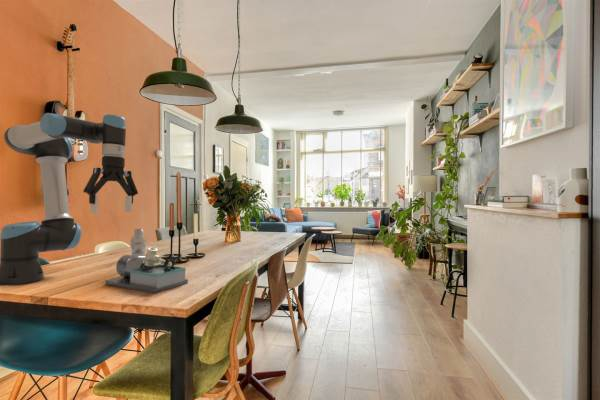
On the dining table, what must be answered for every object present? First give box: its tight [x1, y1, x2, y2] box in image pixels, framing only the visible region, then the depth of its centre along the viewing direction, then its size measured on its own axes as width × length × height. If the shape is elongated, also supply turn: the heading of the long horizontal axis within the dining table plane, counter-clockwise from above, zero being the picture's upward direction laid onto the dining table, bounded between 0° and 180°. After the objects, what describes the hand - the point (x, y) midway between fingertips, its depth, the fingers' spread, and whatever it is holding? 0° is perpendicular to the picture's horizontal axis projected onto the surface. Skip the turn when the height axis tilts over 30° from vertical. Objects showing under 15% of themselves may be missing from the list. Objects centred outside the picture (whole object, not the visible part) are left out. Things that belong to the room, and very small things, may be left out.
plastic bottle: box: [130, 228, 147, 257], centre depth 146 cm, size 6×7×20 cm
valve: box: [144, 247, 178, 272], centre depth 126 cm, size 7×7×12 cm
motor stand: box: [105, 254, 189, 294], centre depth 128 cm, size 26×17×10 cm, turn 66°
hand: (112, 212), depth 121 cm, fingers open, 13 cm apart
